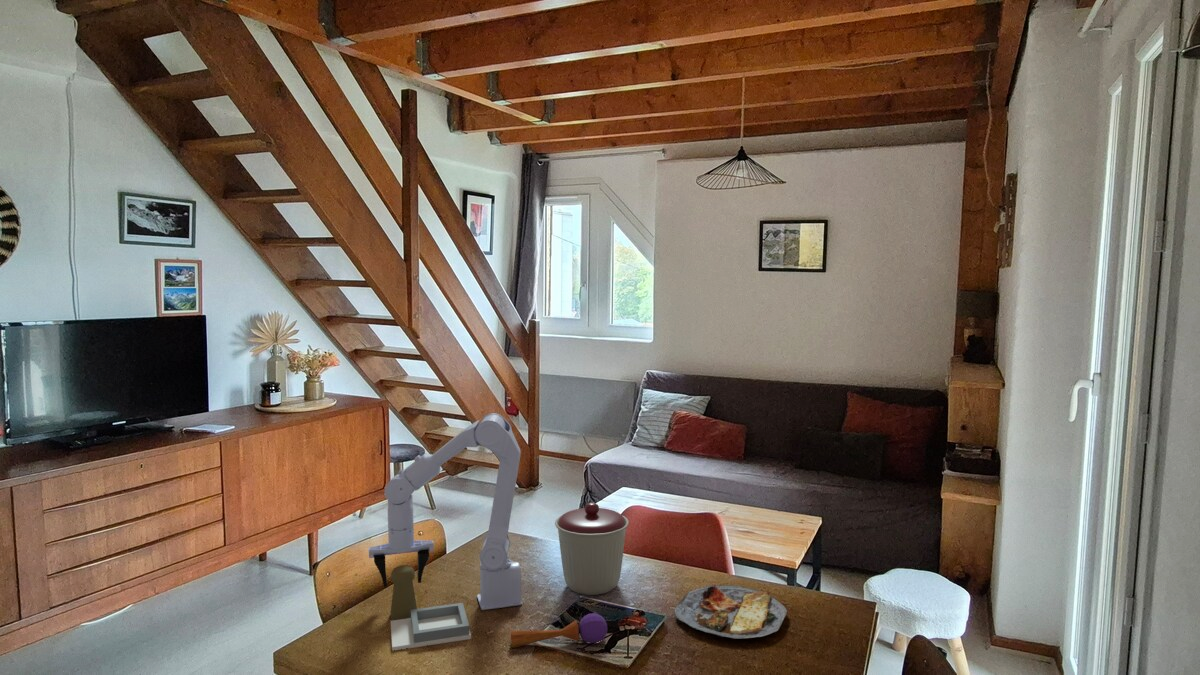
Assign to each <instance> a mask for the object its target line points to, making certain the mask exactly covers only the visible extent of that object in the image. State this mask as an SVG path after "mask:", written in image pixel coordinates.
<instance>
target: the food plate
mask: <svg viewBox="0 0 1200 675" xmlns="http://www.w3.org/2000/svg"><path fill="white" fill-rule="evenodd" d="M674 614H675V616H676V618H677V619H678V620H679V621H681V623H685V624H686V625H688V626H689V627H691V628H693V629H695V630H699V631H702V632H704V633H708V634H712V635H716V636H717V637H722V638H723V637H724V638H725V637H726V638H729V639H730V638H731V639H734V640H735V639H740V640H741V639H752V638H753V639H754V638H761V637H765V636H768V635H771V634H773V633H776V632H778V631H779V630H780V628H781V626H782V624H783V622H784V619H785V618H786V616H787V614H788V609H787V608H786V606H785V605H783V604H782V603H781V602H780V601H779V600H777V599H776V598H775V597H773V596H772V592H771V591H769V590H766V591H760V590H756V589H752V588H749V587H747V586H746V587H745V586H741V585H734V584H732V585H731V584H725V585H724V584H723V585H720V584H719V585H718V584H717V585H716V584H712V585H706V586H703V587H700V588H696V589H694V590H692V591H688V592H687V593H686V594H685V595H684V596H683V598H682V599H680V601H679V602H678V604H677V605H676V607H675V608H674ZM698 615H701V616H700V617H699V620H700V619H701V620H702V621H703V622H704V619H705V623H704V626H703V625H702V624H703V623H701V624H699V623H700V621H698ZM729 624H730V627H729V632H728V633H727V632H720V631H721V630H722V629H723V628H724V627H725V626H727V625H729Z"/></svg>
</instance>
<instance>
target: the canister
mask: <svg viewBox="0 0 1200 675" xmlns="http://www.w3.org/2000/svg"><path fill="white" fill-rule="evenodd" d="M554 524H555V525H554V526H555V527H556V529H557V532H558V540H559V541H558V542H559V550H560V556H561V557H560V558H561V565H562V566H561V567H562V572H563V577H564V578H563V579H564V581H565V584H566V586H567V587H568V588H569V589H570V590H571V591H573V592H575V593H577V594H581V595H588V596H589V595H590V596H594V595H603V594H606V593H609V592H610V591H613V590H614V589H615V588H616V587H617V586H618V584H619V582H620V579H621V572H622V566H623V557H624V549H625V548H624V547H625V542H626V541H625V540H626V531H627V530H626V529H627V528H628V526H629V524H630V523H629V519H628V518H627V517H626V516H624V515H623V514H621V513H620V512H618V511H615V510H612V509H610V508H604V507H603V508H602V507H600V506H599V505H598V504H597V503H596V502H592V501H591V502H588V503H586V504H585V505H584V507H582V508H576V509H572V510H570V511H567V512H565V513H563V514H562V515H560V516H558V517H557V518H556V520H555V521H554Z"/></svg>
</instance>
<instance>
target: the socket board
mask: <svg viewBox="0 0 1200 675" xmlns="http://www.w3.org/2000/svg"><path fill="white" fill-rule="evenodd" d="M464 606H465V605H464V603H463V602H457V603H450V604H443V605H442V604H441V605H437V606H435V605H434V606H428V607H421V608H420V607H419V608H417V609H413V610H411V618H407V619H400V620H393V619H392V620H390V633H391V634H390V635H391V636H390V637H391V650H392V652H394V650H395V651H400V650H401V649H402V650H407V649H406V648H408V649H413V648H414V649H415V648H421V647H427V645H428V646H432V645H433V646H434V645H438V644H439V645H441V644H446V643H453V642H459V641H466V640H471V639H472V633H471V630H470V623H469V620H468V616H467V613H466V610H465V607H464ZM402 650H401V651H402Z"/></svg>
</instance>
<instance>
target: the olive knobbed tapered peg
mask: <svg viewBox="0 0 1200 675" xmlns="http://www.w3.org/2000/svg"><path fill="white" fill-rule="evenodd" d="M415 577H416V572H415V569H414V568H413V567H412V566H410V565H407V564H405V565H404V564H403V565H398V566H396V567H394V568H393V569H392V571H391V573H390V579H391V582H393V587H392V598H391V607H390V614H389V615H390V619H392V621H393V620H400V619H407V618H411V610H413V609H418V607H417V601H416V595H415V588H414V582H413V581H414V580H415Z"/></svg>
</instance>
